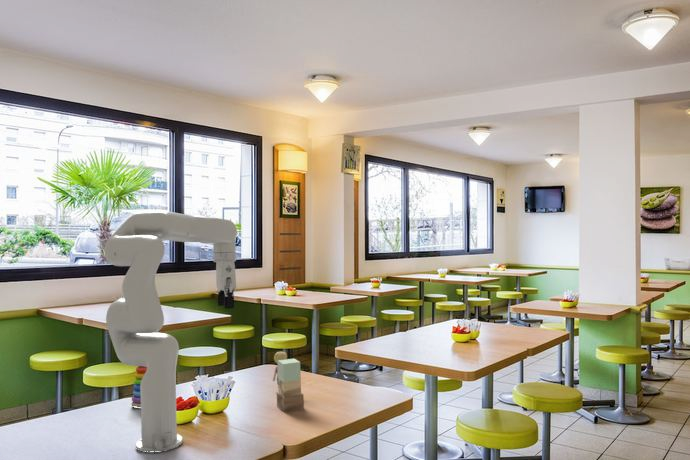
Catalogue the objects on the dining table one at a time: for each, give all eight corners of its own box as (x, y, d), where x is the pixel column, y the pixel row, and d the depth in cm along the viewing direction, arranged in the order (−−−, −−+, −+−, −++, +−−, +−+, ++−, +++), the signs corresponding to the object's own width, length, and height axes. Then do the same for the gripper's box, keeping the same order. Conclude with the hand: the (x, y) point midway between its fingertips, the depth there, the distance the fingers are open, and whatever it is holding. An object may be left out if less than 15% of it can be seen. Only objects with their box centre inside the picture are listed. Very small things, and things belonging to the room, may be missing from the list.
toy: (291, 390, 210) (290, 350, 210) (288, 393, 205) (288, 353, 205) (274, 389, 210) (273, 350, 211) (271, 393, 206) (270, 353, 206)
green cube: (300, 379, 187) (300, 361, 187) (283, 382, 184) (283, 364, 184) (294, 375, 192) (294, 358, 192) (277, 378, 190) (277, 360, 190)
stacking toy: (150, 409, 190) (149, 354, 190) (127, 410, 190) (126, 355, 190) (158, 402, 198) (157, 350, 198) (136, 403, 198) (135, 350, 198)
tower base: (303, 409, 187) (303, 394, 187) (284, 412, 184) (283, 397, 184) (296, 404, 193) (295, 389, 193) (277, 407, 190) (276, 392, 190)
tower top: (301, 394, 187) (300, 379, 187) (284, 397, 184) (283, 381, 185) (295, 390, 192) (295, 375, 192) (278, 392, 190) (278, 377, 190)
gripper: (241, 257, 186) (243, 308, 186) (229, 256, 202) (230, 303, 202) (219, 258, 183) (220, 310, 183) (208, 257, 198) (209, 305, 198)
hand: (225, 306), depth 192 cm, fingers open, 9 cm apart
